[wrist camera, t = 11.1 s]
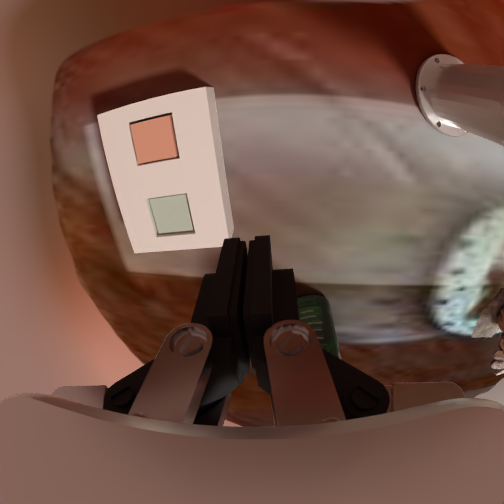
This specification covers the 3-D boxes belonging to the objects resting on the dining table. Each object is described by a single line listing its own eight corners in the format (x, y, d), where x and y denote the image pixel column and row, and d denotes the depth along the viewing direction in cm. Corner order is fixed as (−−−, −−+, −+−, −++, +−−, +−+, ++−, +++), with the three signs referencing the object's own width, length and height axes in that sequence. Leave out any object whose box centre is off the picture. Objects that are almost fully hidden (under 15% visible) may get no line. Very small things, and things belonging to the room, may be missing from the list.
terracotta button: (177, 112, 30) (169, 115, 27) (184, 150, 32) (176, 156, 30) (141, 121, 30) (130, 124, 27) (148, 157, 33) (138, 164, 30)
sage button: (192, 185, 36) (185, 194, 33) (198, 218, 38) (193, 230, 36) (158, 190, 36) (149, 199, 33) (166, 222, 39) (158, 233, 36)
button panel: (213, 87, 30) (205, 86, 25) (233, 228, 40) (230, 246, 36) (115, 110, 31) (97, 115, 27) (146, 235, 42) (134, 253, 37)
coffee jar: (282, 296, 47) (287, 392, 31) (328, 289, 46) (350, 383, 30) (290, 332, 52) (295, 419, 36) (330, 326, 51) (346, 411, 35)
